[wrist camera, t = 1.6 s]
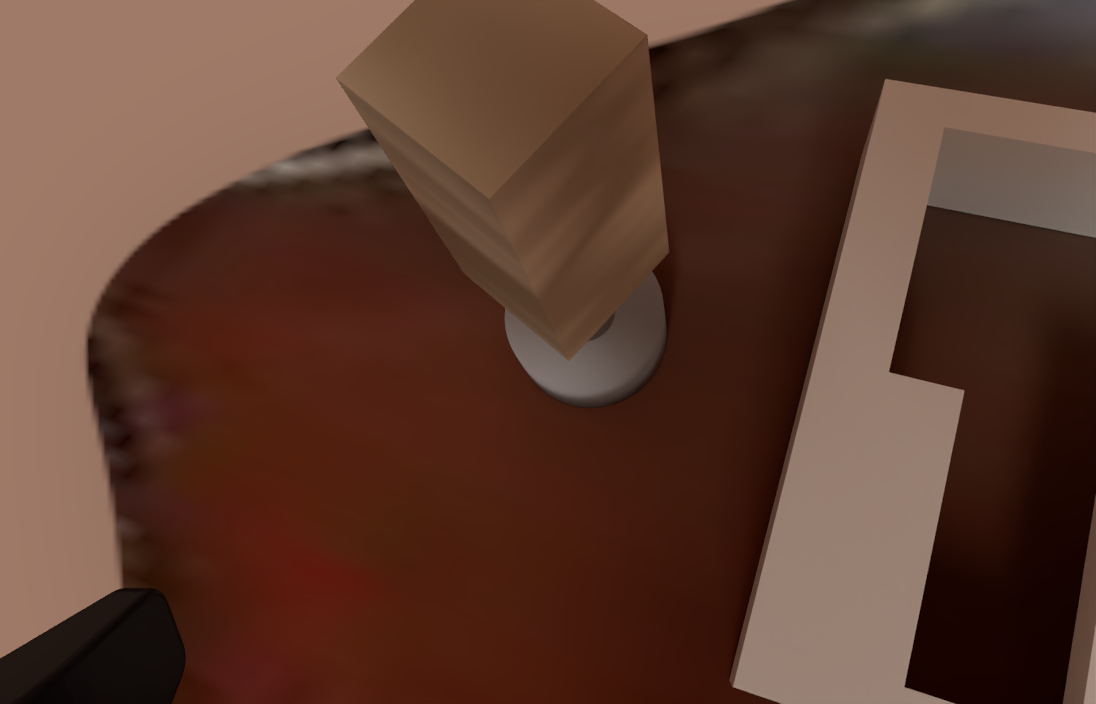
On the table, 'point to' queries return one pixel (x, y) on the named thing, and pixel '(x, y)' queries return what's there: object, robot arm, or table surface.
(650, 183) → the maple peg
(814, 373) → the keyhole block
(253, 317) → the table surface
